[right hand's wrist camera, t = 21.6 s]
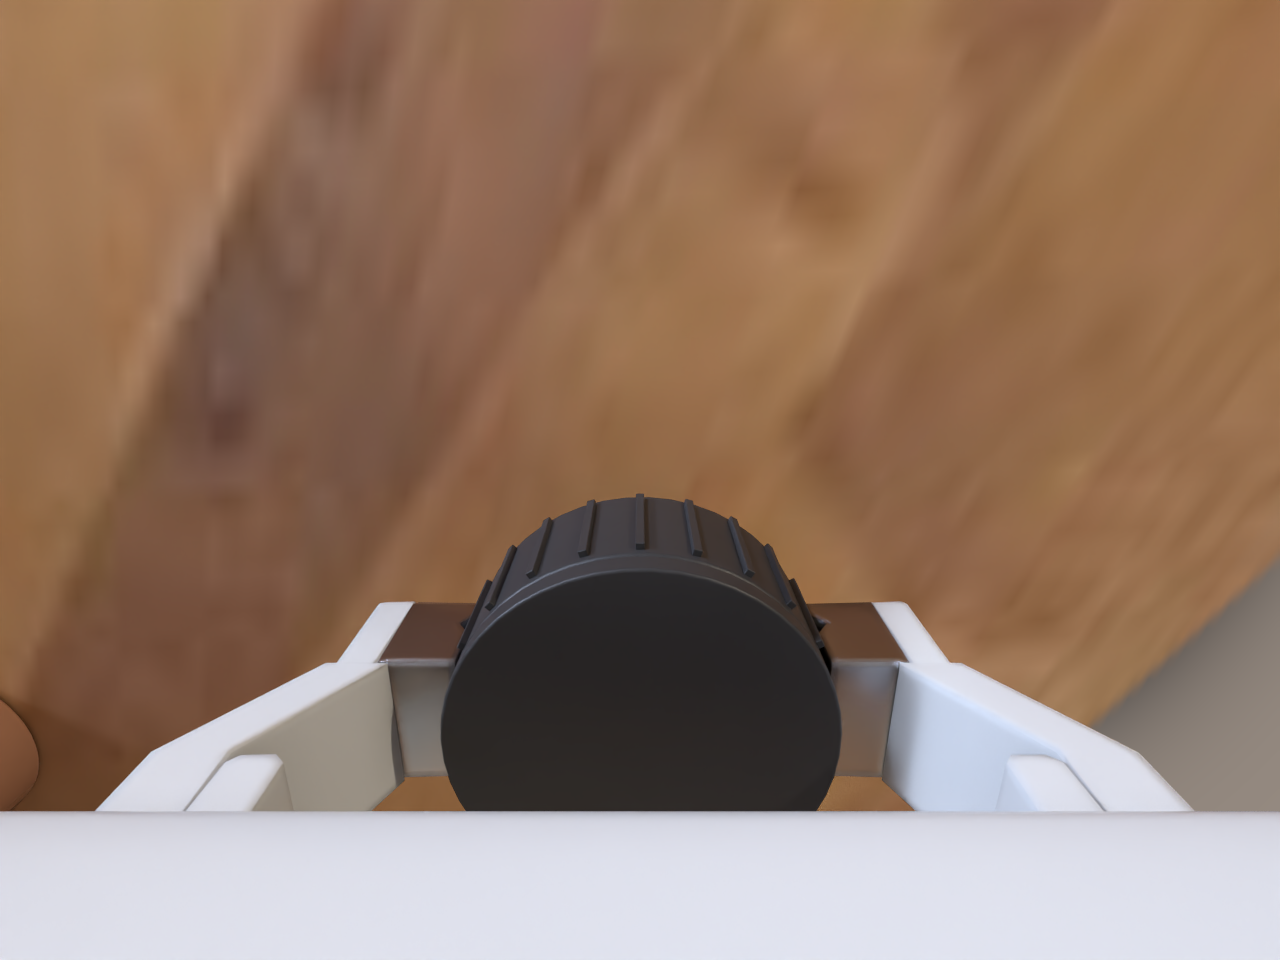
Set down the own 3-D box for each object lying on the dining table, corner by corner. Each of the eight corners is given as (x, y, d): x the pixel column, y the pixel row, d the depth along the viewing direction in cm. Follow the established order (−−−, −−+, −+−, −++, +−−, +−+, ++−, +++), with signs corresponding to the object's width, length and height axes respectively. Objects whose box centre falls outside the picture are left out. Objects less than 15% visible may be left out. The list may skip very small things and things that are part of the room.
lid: (551, 809, 11) (531, 938, 9) (417, 554, 10) (357, 641, 8) (841, 726, 11) (889, 843, 9) (750, 441, 9) (784, 502, 7)
